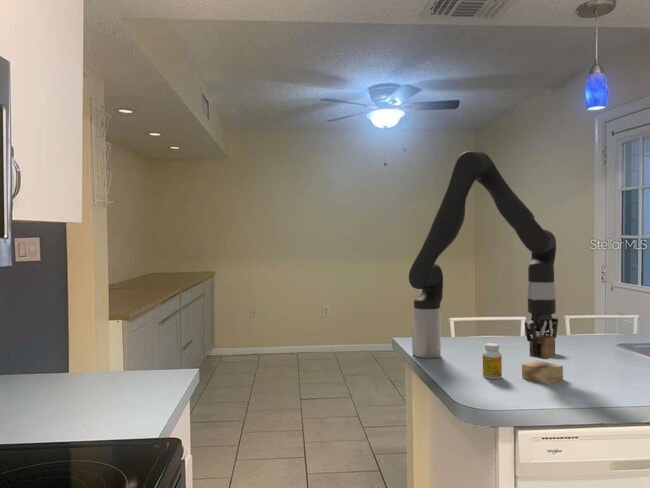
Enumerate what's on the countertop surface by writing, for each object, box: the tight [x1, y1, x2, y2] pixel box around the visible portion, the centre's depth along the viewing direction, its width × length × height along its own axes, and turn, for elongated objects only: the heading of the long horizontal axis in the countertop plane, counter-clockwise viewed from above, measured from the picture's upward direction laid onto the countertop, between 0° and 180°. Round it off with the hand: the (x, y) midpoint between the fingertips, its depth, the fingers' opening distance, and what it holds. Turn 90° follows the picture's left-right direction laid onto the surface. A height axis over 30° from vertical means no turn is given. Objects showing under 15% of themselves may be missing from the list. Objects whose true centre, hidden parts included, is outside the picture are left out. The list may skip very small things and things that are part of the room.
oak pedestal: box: [521, 360, 564, 385], centre depth 139 cm, size 8×8×4 cm
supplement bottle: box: [482, 342, 503, 380], centre depth 142 cm, size 5×5×10 cm
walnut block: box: [528, 335, 556, 360], centre depth 139 cm, size 5×5×6 cm
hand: (542, 354), depth 139 cm, fingers closed on walnut block, 5 cm apart
